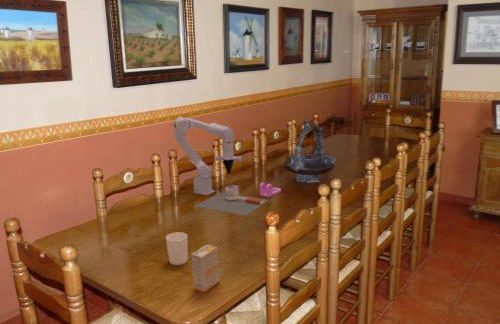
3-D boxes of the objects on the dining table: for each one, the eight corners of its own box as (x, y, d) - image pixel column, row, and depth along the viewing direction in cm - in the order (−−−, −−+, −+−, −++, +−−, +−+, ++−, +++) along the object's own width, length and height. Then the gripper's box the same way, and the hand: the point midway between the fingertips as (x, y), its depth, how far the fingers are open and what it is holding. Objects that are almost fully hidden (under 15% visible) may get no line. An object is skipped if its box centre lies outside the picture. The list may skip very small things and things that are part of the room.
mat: (194, 206, 225) (194, 206, 225) (220, 192, 245) (220, 192, 245) (245, 216, 211) (245, 215, 211) (269, 200, 231) (269, 199, 231)
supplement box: (209, 278, 155) (206, 243, 152) (220, 282, 153) (218, 247, 149) (193, 289, 149) (190, 253, 146) (204, 293, 146) (201, 256, 143)
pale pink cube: (225, 196, 232) (224, 187, 231) (230, 193, 236) (230, 184, 235) (233, 197, 230) (233, 188, 228) (238, 194, 234) (238, 185, 232)
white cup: (168, 257, 172) (166, 232, 170) (189, 255, 173) (187, 231, 170) (167, 266, 165) (164, 241, 162) (188, 265, 165) (186, 240, 163)
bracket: (268, 197, 235) (268, 185, 233) (260, 196, 239) (259, 183, 237) (282, 191, 245) (282, 179, 243) (274, 189, 248) (274, 177, 246)
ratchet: (223, 200, 232) (222, 191, 231) (230, 196, 238) (229, 187, 237) (258, 206, 222) (258, 196, 221) (265, 201, 228) (265, 192, 227)
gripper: (213, 150, 243) (214, 174, 246) (239, 151, 240) (240, 175, 243) (216, 147, 249) (217, 171, 253) (242, 148, 246) (243, 171, 250)
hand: (229, 173), depth 248 cm, fingers closed
